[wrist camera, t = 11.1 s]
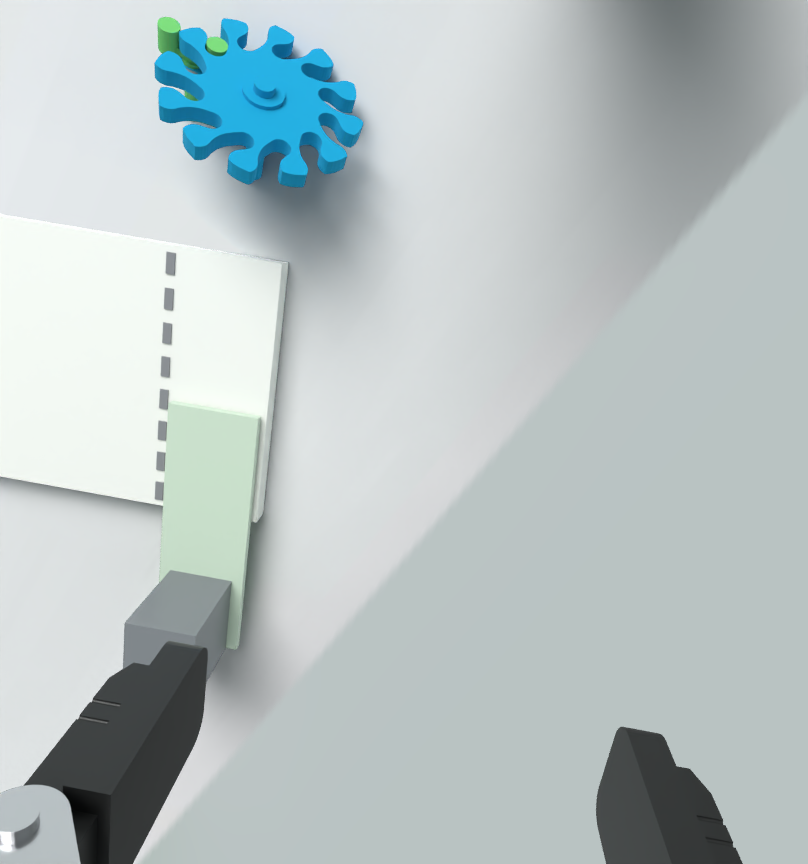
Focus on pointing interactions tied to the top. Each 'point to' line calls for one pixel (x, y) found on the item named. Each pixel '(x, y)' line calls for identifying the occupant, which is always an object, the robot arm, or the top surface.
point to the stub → (200, 535)
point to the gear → (253, 100)
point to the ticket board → (126, 352)
